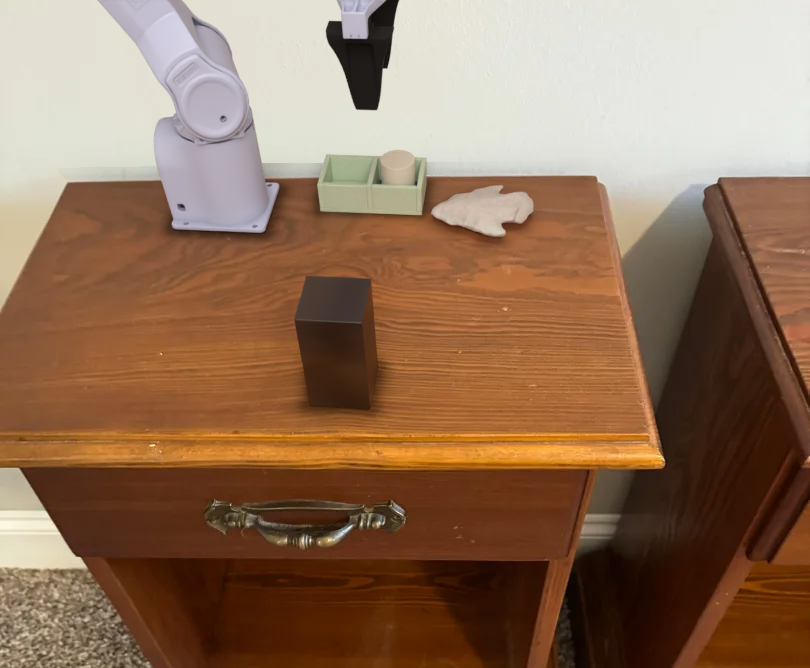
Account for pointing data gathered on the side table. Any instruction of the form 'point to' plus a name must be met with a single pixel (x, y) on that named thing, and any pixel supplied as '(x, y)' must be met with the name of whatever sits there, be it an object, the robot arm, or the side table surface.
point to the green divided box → (368, 187)
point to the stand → (337, 341)
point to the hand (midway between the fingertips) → (372, 86)
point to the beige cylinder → (398, 168)
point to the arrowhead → (485, 210)
